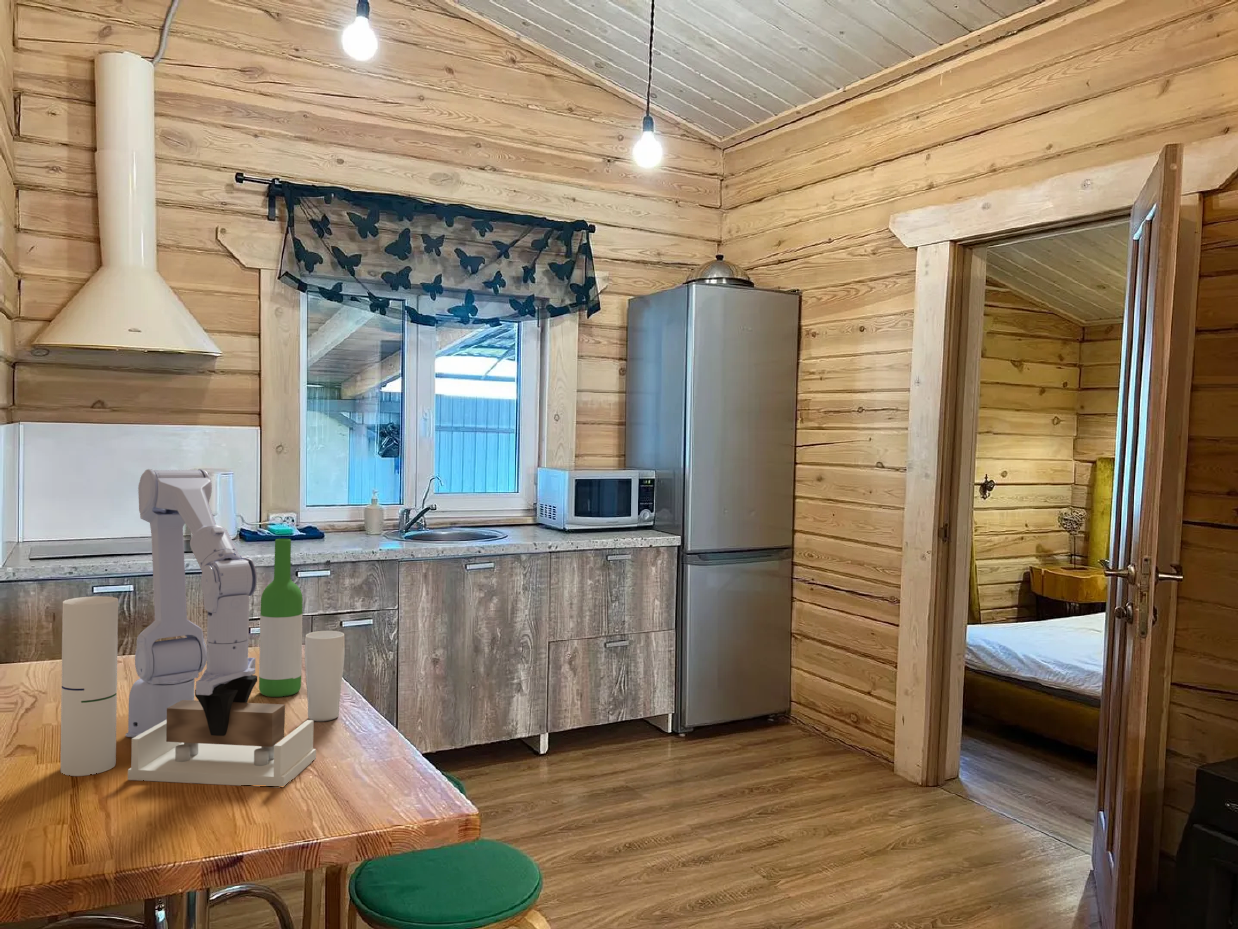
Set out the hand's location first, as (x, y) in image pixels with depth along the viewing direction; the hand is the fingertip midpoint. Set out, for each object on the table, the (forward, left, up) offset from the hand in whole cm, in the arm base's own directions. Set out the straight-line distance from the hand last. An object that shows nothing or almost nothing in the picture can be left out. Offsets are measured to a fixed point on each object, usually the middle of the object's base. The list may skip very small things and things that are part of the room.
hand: (226, 729), depth 137 cm
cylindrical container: (-20, -2, -6) cm, 21 cm away
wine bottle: (-9, +40, -6) cm, 41 cm away
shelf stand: (0, 0, -6) cm, 6 cm away
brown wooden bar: (0, 0, -2) cm, 2 cm away
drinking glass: (+5, +26, -6) cm, 27 cm away
